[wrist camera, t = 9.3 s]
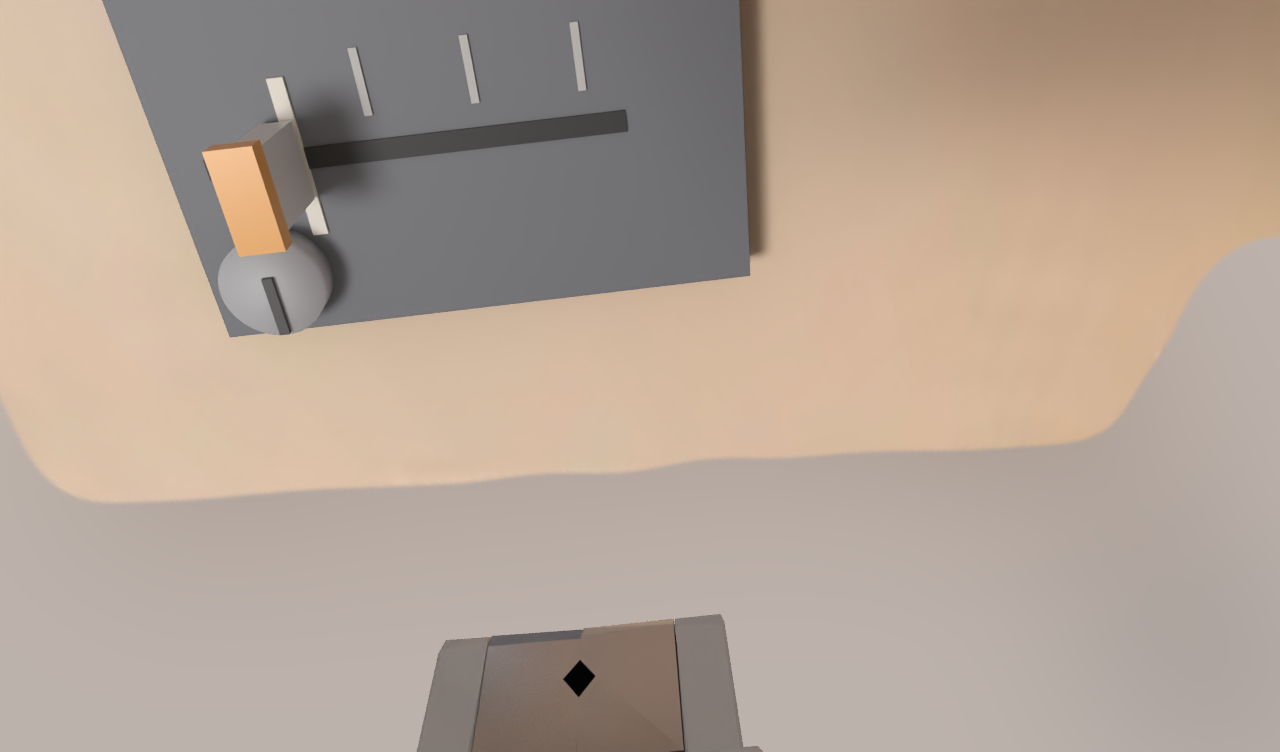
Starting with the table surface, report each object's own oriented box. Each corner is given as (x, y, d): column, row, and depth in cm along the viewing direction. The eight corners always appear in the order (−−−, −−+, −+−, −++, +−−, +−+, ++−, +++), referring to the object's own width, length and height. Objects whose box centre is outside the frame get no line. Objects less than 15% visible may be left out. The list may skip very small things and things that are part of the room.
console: (726, -103, 31) (743, -102, 28) (742, 257, 38) (757, 292, 35) (118, -32, 31) (66, -23, 28) (245, 316, 38) (215, 356, 35)
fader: (294, 111, 32) (251, 145, 28) (321, 205, 34) (285, 251, 29) (250, 116, 32) (201, 151, 28) (280, 210, 34) (238, 257, 29)
